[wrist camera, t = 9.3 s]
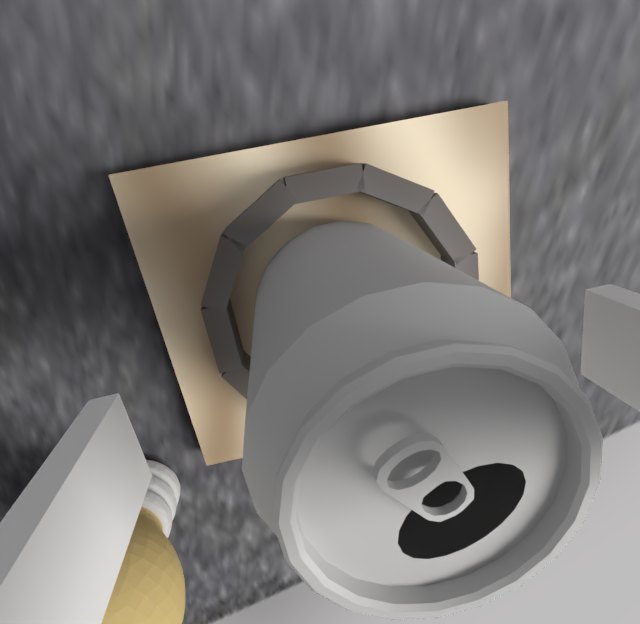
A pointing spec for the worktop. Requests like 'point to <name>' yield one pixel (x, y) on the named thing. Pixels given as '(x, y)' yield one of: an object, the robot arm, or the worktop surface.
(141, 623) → the light bulb
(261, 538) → the worktop surface
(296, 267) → the can
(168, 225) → the board
